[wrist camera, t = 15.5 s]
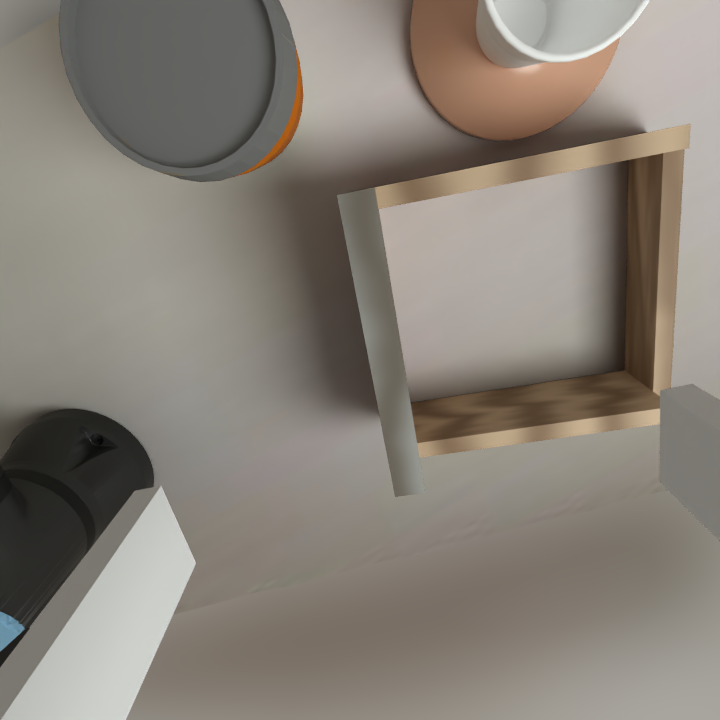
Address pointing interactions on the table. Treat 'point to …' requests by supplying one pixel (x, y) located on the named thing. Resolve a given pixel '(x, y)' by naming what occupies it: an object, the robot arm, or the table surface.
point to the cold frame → (543, 400)
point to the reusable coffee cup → (186, 81)
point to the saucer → (493, 77)
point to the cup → (550, 28)
